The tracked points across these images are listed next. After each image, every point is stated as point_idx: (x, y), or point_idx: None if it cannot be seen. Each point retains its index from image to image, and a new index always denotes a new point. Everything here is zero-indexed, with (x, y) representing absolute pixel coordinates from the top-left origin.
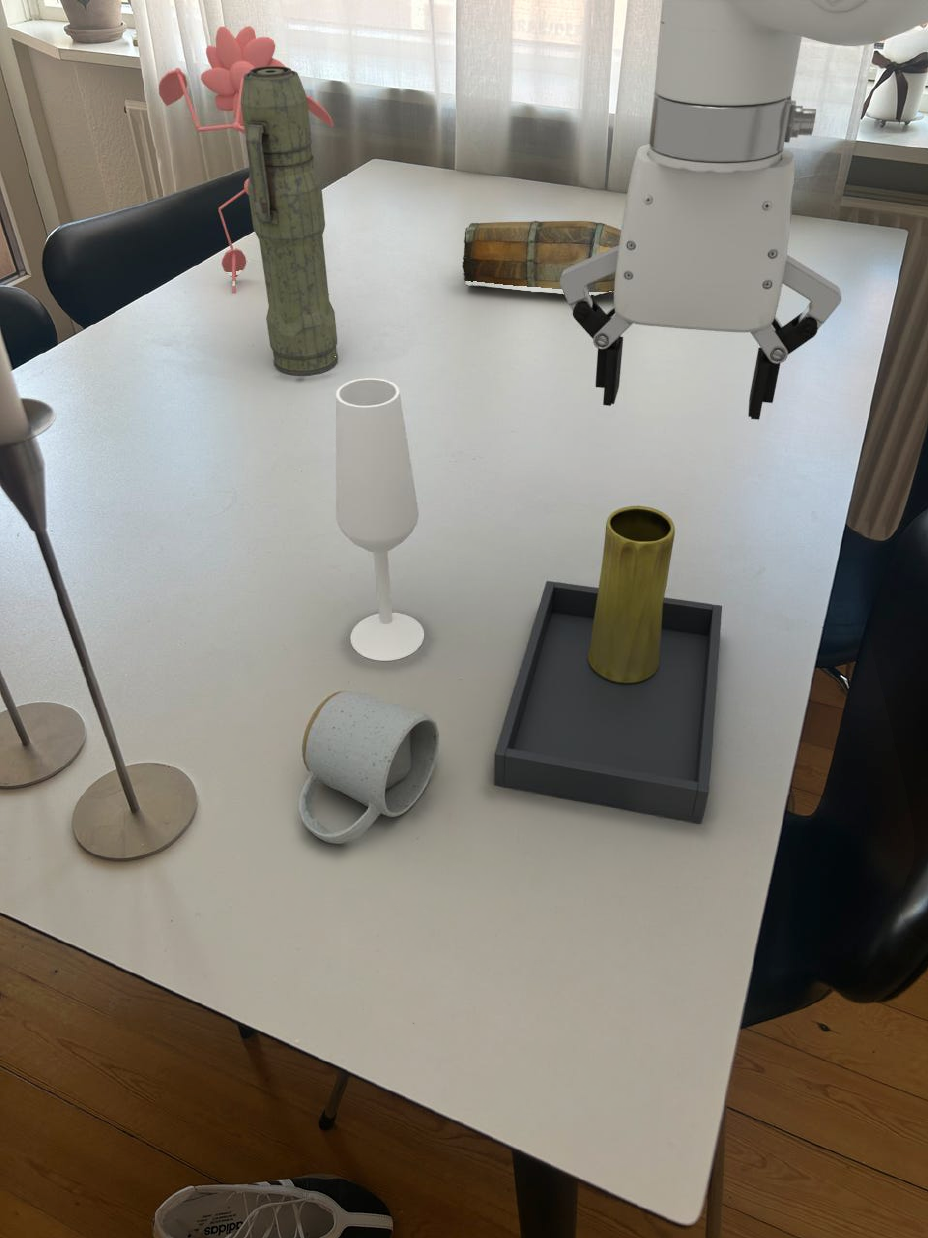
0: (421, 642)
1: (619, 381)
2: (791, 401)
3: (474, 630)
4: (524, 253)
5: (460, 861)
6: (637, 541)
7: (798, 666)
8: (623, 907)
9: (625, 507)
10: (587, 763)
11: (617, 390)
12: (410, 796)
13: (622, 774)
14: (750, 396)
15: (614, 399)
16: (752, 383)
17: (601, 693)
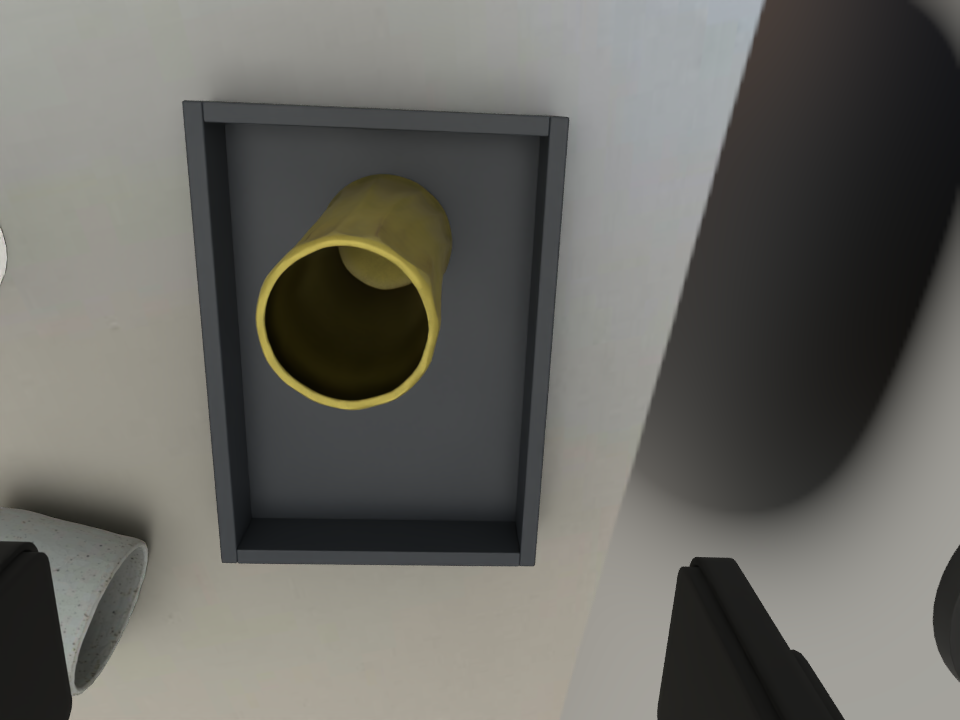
0: (4, 249)
1: (30, 566)
2: None
3: (89, 191)
4: None
5: (235, 634)
6: (349, 405)
7: (703, 174)
8: (438, 649)
9: (294, 257)
10: (360, 554)
11: (50, 610)
12: (134, 572)
13: (413, 561)
14: (683, 642)
15: (61, 717)
16: (704, 650)
17: None
